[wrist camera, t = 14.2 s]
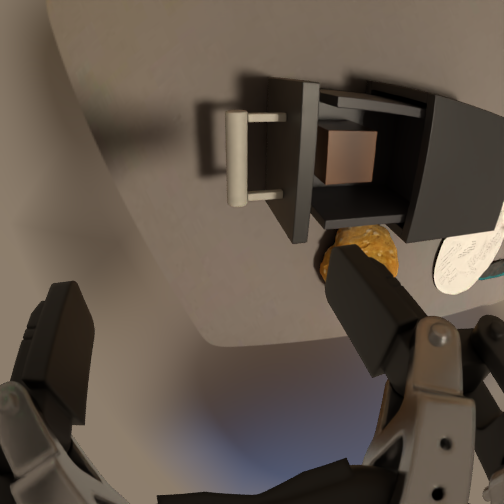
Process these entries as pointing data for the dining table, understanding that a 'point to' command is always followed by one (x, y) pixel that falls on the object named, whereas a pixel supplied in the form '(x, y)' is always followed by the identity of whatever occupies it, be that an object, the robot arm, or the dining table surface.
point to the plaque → (467, 258)
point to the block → (344, 152)
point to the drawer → (304, 150)
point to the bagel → (366, 246)
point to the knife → (493, 270)
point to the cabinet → (452, 168)
